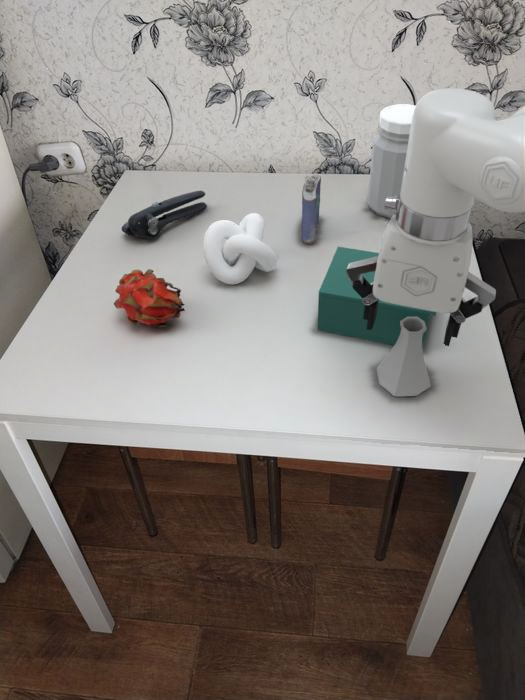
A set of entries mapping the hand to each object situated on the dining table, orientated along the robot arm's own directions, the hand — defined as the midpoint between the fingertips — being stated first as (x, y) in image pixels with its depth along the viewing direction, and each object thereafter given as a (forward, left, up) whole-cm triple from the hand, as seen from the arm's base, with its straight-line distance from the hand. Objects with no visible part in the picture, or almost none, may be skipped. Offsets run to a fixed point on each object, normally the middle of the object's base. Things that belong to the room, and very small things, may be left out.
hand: (408, 330), depth 75 cm
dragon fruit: (+39, -2, -9) cm, 40 cm away
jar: (+9, -44, -9) cm, 46 cm away
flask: (0, 0, -9) cm, 9 cm away
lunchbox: (+6, -12, -9) cm, 16 cm away
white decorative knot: (+29, -17, -9) cm, 34 cm away
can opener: (+48, -27, -9) cm, 55 cm away
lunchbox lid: (+5, -12, -2) cm, 13 cm away
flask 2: (+22, -32, -9) cm, 39 cm away
